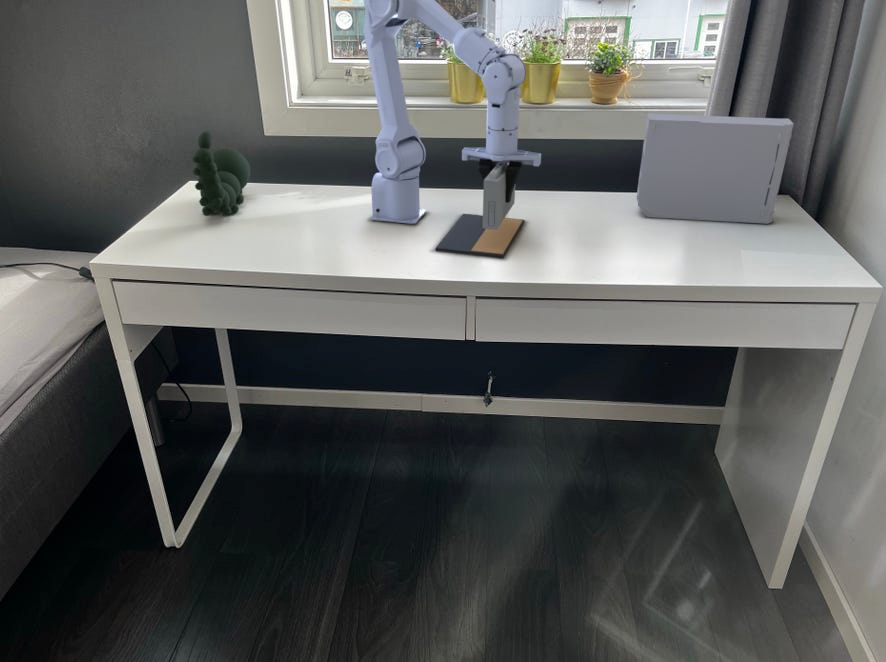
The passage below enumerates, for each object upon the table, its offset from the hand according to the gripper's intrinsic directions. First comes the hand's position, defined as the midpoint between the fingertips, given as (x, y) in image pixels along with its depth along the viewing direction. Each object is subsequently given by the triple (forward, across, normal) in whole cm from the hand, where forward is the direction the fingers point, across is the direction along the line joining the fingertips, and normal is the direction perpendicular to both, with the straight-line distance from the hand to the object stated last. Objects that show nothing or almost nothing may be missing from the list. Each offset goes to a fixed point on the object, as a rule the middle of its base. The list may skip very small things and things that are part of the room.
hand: (499, 200), depth 144 cm
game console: (+8, +38, +24) cm, 46 cm away
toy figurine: (+8, -60, +1) cm, 60 cm away
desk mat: (+8, -3, 0) cm, 8 cm away
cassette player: (+3, 0, 0) cm, 3 cm away
